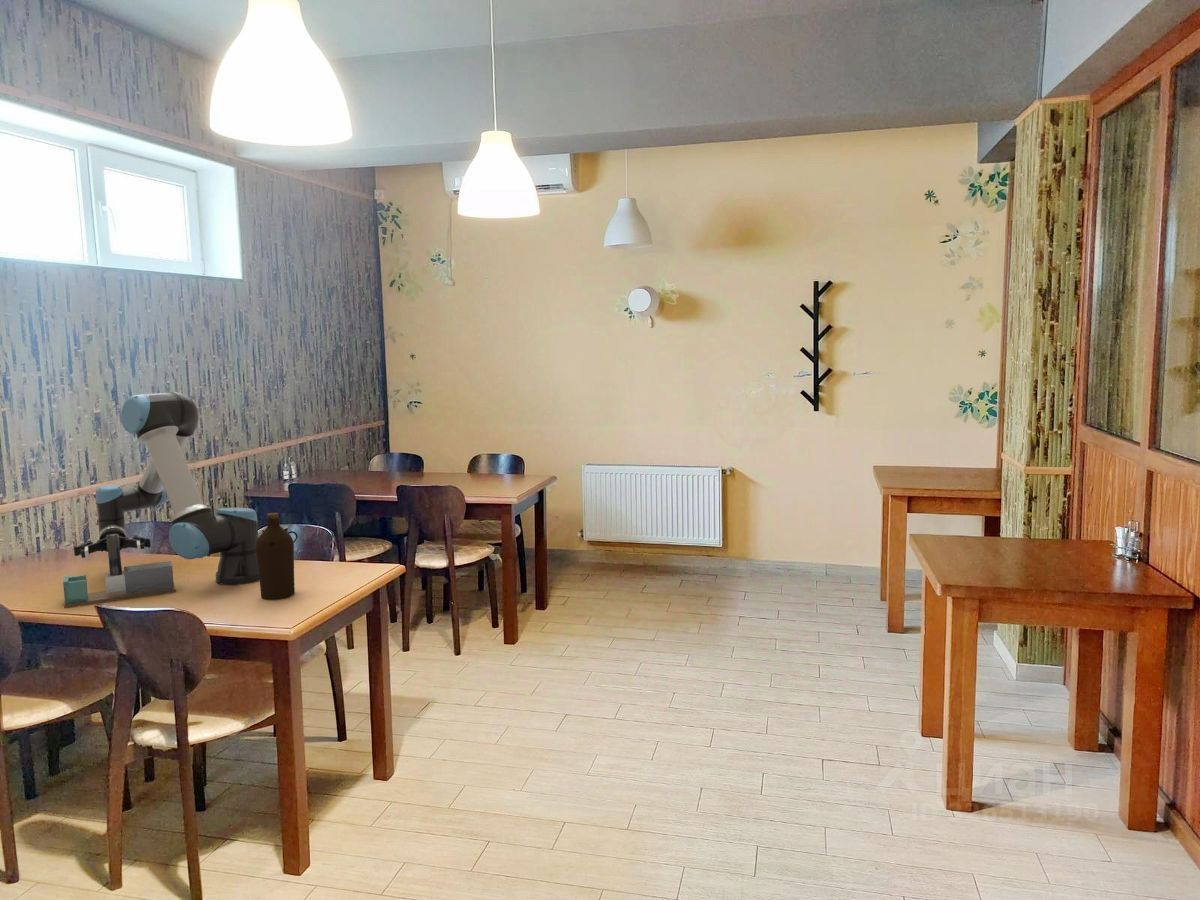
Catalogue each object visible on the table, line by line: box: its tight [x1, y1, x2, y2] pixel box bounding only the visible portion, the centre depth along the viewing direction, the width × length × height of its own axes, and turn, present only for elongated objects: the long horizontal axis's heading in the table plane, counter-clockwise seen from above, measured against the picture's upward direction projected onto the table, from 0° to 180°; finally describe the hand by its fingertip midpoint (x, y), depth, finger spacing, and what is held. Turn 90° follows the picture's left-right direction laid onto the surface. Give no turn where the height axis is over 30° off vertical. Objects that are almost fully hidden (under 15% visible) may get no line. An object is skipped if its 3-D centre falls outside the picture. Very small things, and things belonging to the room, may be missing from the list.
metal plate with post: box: [104, 533, 126, 593], centre depth 254 cm, size 16×5×17 cm, turn 120°
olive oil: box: [256, 512, 296, 601], centre depth 249 cm, size 11×11×25 cm
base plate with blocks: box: [63, 560, 177, 609], centre depth 253 cm, size 29×10×8 cm, turn 121°
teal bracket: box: [62, 574, 89, 604], centre depth 247 cm, size 6×7×6 cm
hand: (113, 552), depth 250 cm, fingers open, 13 cm apart
